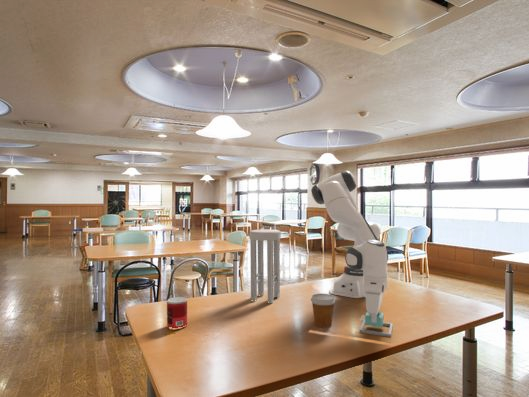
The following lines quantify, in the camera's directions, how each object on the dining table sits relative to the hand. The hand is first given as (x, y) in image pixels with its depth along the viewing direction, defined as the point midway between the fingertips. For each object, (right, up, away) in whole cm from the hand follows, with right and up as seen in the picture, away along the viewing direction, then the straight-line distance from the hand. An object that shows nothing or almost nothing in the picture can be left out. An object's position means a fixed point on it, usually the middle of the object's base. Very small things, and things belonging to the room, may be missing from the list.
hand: (375, 318), depth 127 cm
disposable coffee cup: (-19, -5, +6) cm, 20 cm away
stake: (+1, -5, +11) cm, 12 cm away
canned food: (-78, -6, +7) cm, 78 cm away
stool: (-42, -6, +42) cm, 60 cm away
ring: (0, -2, 0) cm, 2 cm away
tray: (0, -5, 0) cm, 5 cm away
